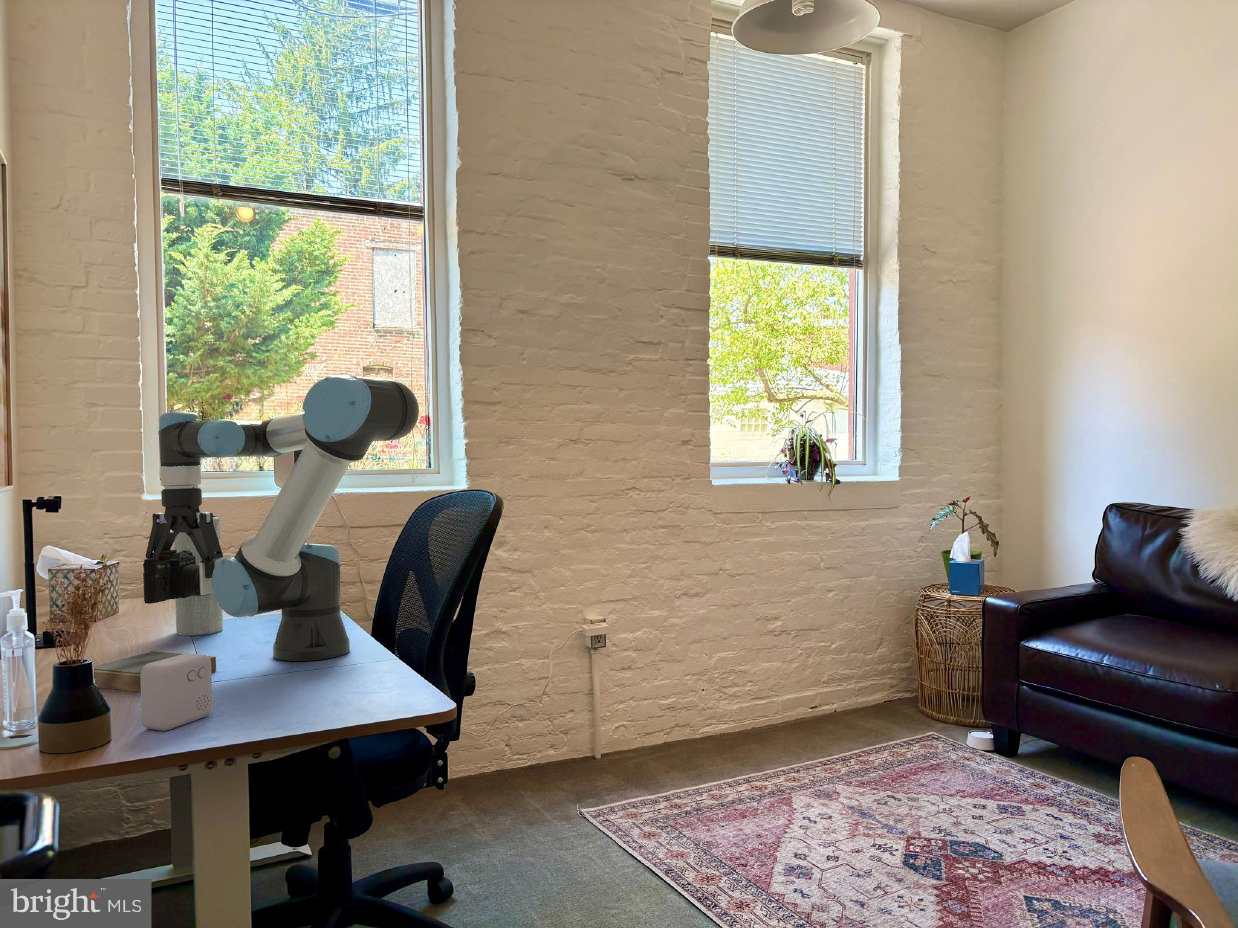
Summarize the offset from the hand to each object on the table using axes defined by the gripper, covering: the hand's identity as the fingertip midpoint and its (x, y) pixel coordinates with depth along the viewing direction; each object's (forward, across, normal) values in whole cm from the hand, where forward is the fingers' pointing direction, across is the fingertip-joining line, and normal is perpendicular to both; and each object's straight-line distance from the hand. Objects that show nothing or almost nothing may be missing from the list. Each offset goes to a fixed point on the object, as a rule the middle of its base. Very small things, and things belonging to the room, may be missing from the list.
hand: (185, 593), depth 186 cm
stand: (+13, -7, +16) cm, 22 cm away
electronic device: (+14, -35, +36) cm, 52 cm away
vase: (+13, +18, -21) cm, 30 cm away
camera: (+1, 0, 0) cm, 1 cm away
